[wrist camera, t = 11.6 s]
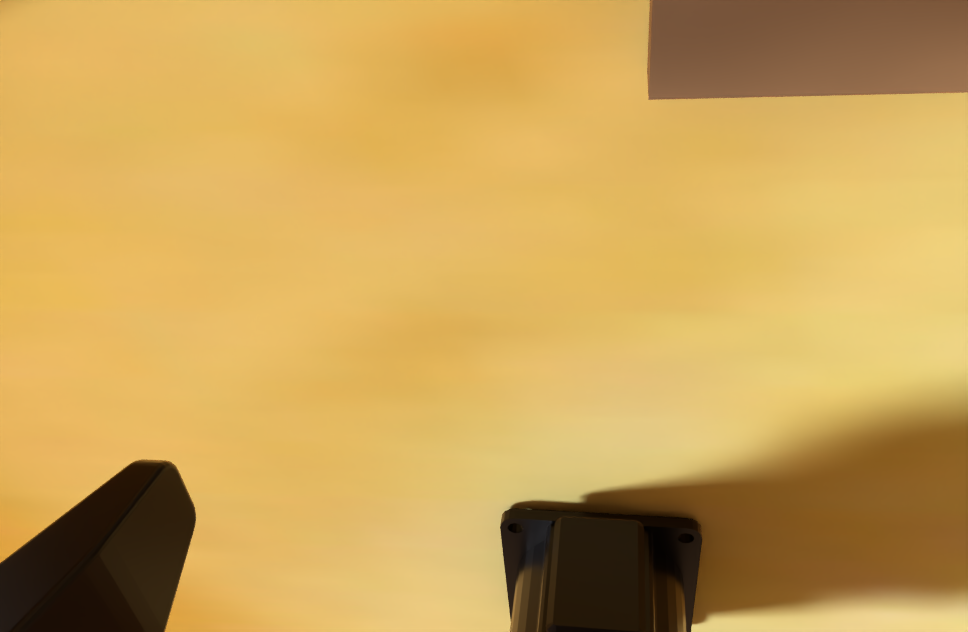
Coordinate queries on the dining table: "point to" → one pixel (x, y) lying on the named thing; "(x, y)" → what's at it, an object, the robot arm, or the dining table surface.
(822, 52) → the cleat board
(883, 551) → the dining table surface
